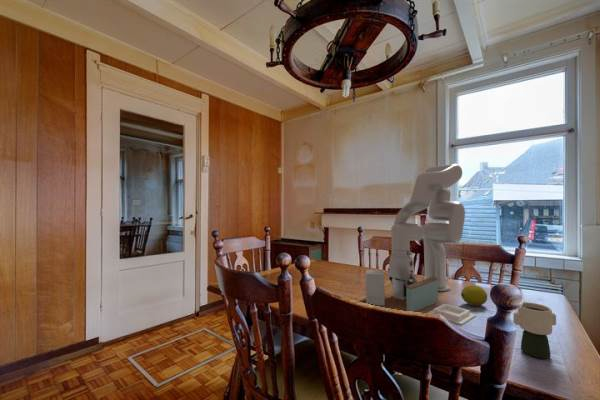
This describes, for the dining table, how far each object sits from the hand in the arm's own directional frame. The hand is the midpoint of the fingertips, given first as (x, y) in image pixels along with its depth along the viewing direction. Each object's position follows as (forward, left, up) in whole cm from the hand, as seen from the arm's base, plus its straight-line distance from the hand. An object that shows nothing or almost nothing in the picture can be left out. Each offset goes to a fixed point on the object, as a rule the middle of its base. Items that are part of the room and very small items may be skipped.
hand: (401, 294), depth 120 cm
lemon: (-15, +23, -2) cm, 27 cm away
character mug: (+11, +48, -2) cm, 49 cm away
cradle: (+2, +22, -2) cm, 22 cm away
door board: (+2, +11, -2) cm, 11 cm away
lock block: (0, 0, -2) cm, 2 cm away
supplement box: (+13, -4, -2) cm, 14 cm away
